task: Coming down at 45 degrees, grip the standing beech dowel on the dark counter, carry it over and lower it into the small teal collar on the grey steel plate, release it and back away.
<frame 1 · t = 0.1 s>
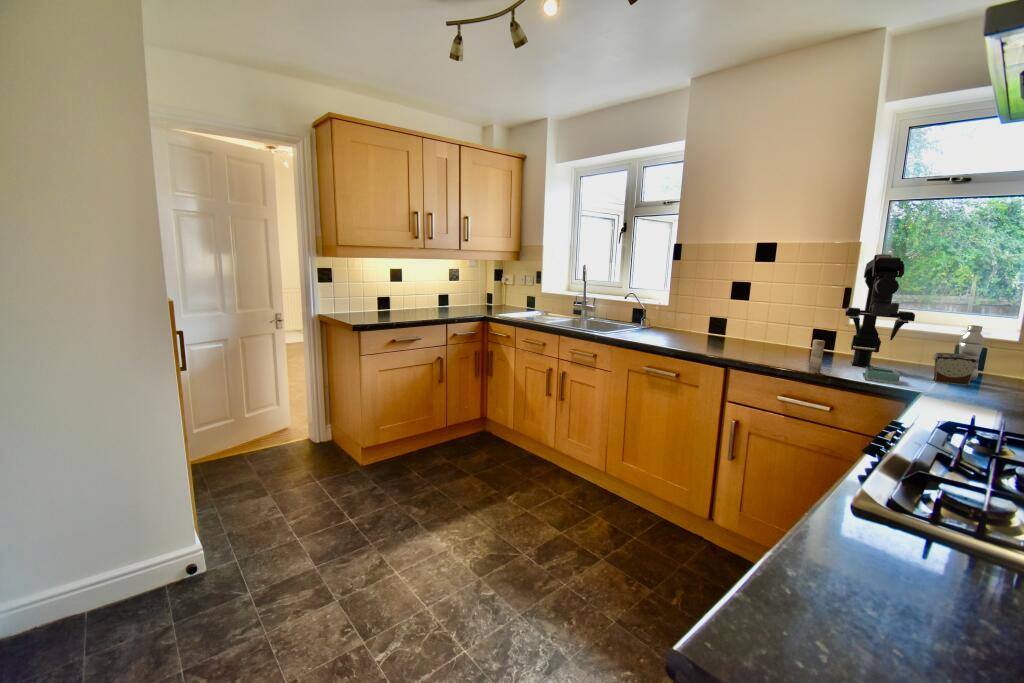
hand: (874, 338, 162), 15 cm above the counter, tool pointing down, fingers open, 9 cm apart
dowel: (814, 372, 171), on the counter
collar plate: (880, 379, 164), on the counter
food container: (946, 382, 165), on the counter
plastic bottle: (963, 380, 168), on the counter
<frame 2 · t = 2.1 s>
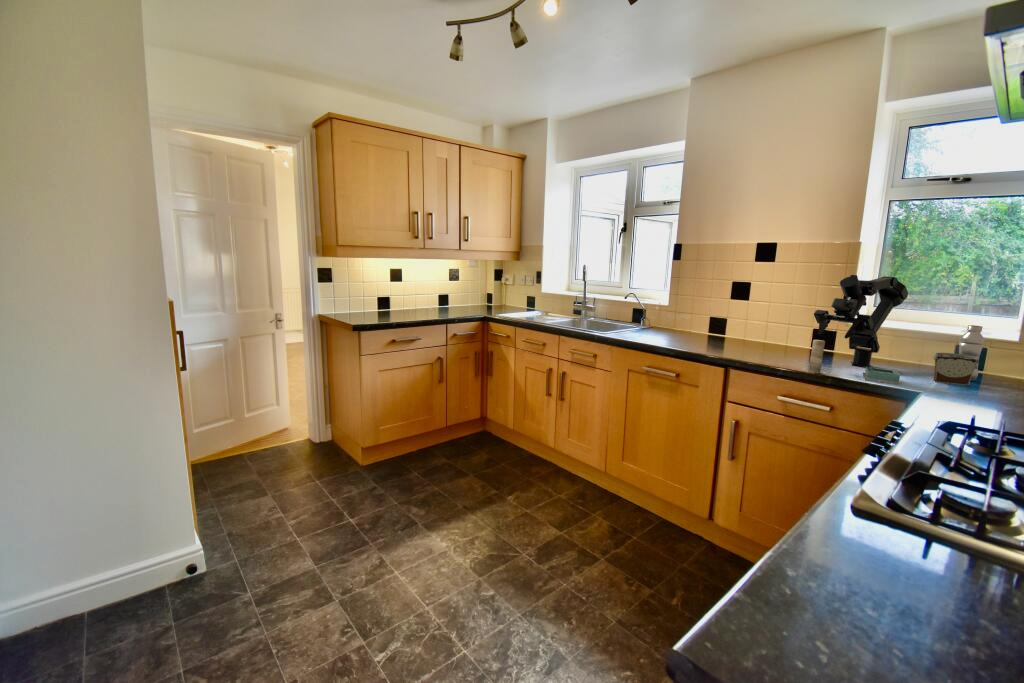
hand: (831, 335, 173), 13 cm above the counter, tool tilted 45°, fingers open, 9 cm apart
nothing on the counter moved.
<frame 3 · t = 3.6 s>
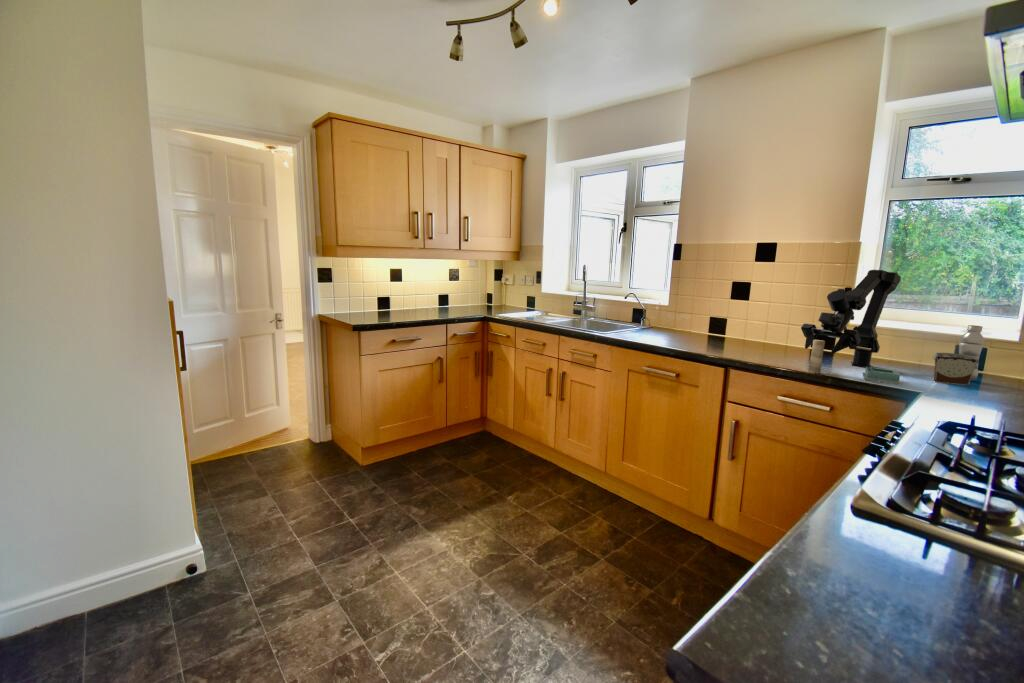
hand: (818, 350, 170), 8 cm above the counter, tool tilted 45°, fingers open, 9 cm apart
nothing on the counter moved.
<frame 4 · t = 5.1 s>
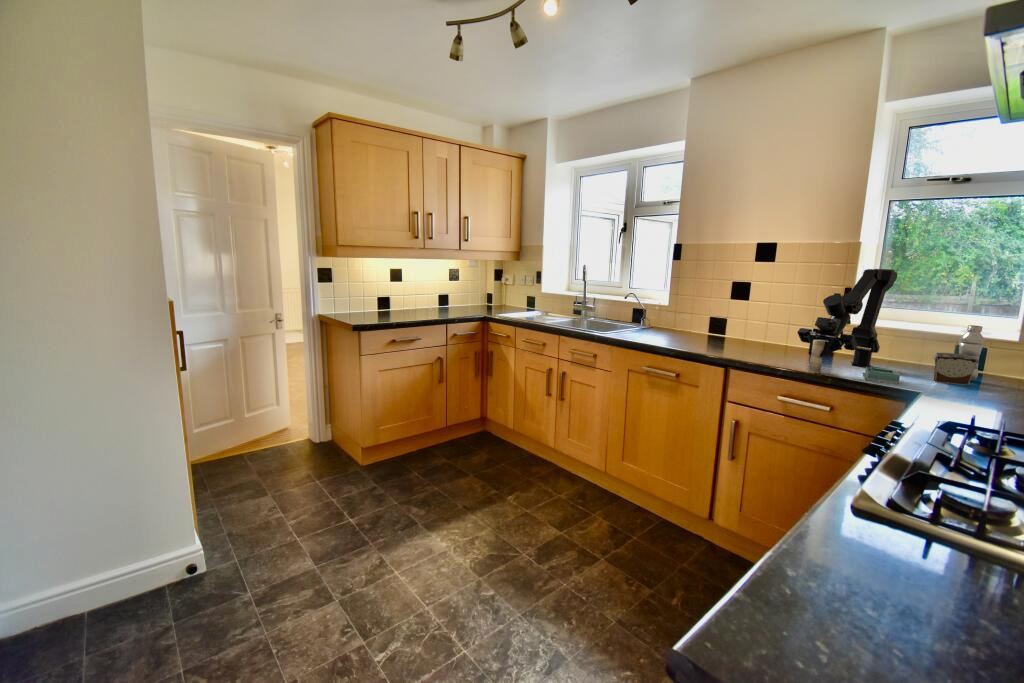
hand: (814, 355, 169), 7 cm above the counter, tool tilted 45°, fingers closed on dowel, 4 cm apart
dowel: (814, 372, 171), on the counter, touching gripper
everything else where it was.
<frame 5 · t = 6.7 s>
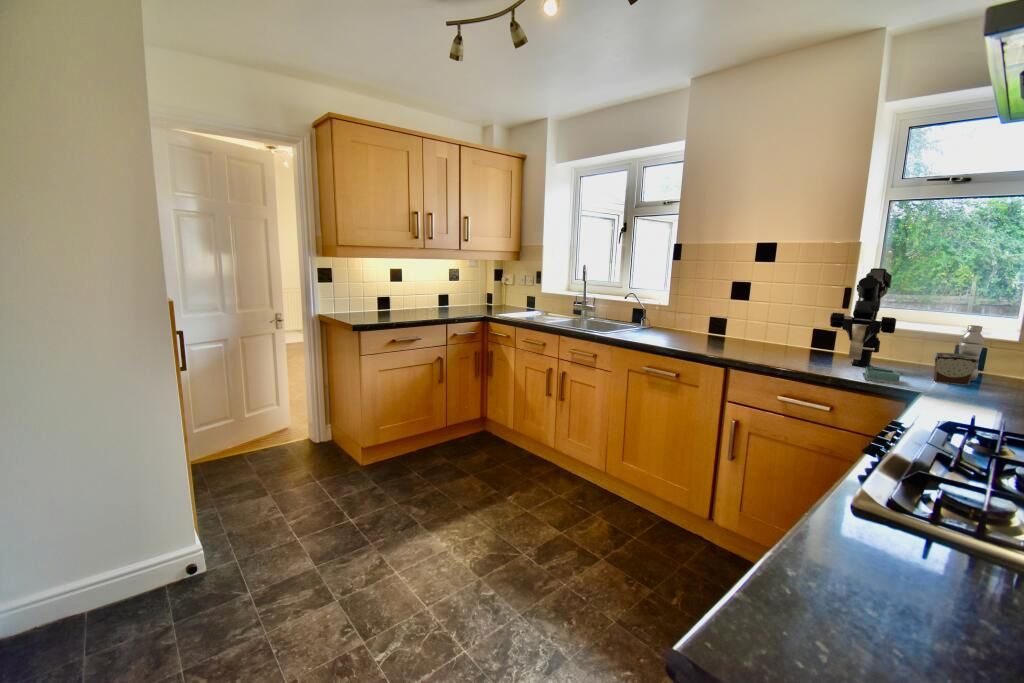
hand: (857, 340, 162), 13 cm above the counter, tool tilted 45°, fingers closed on dowel, 4 cm apart
dowel: (854, 358, 164), point 7 cm above the counter, touching gripper
everything else where it was.
when the fingers open (9 cm above the counter, at t = 8.6 s): dowel drops 2 cm, resting on collar plate.
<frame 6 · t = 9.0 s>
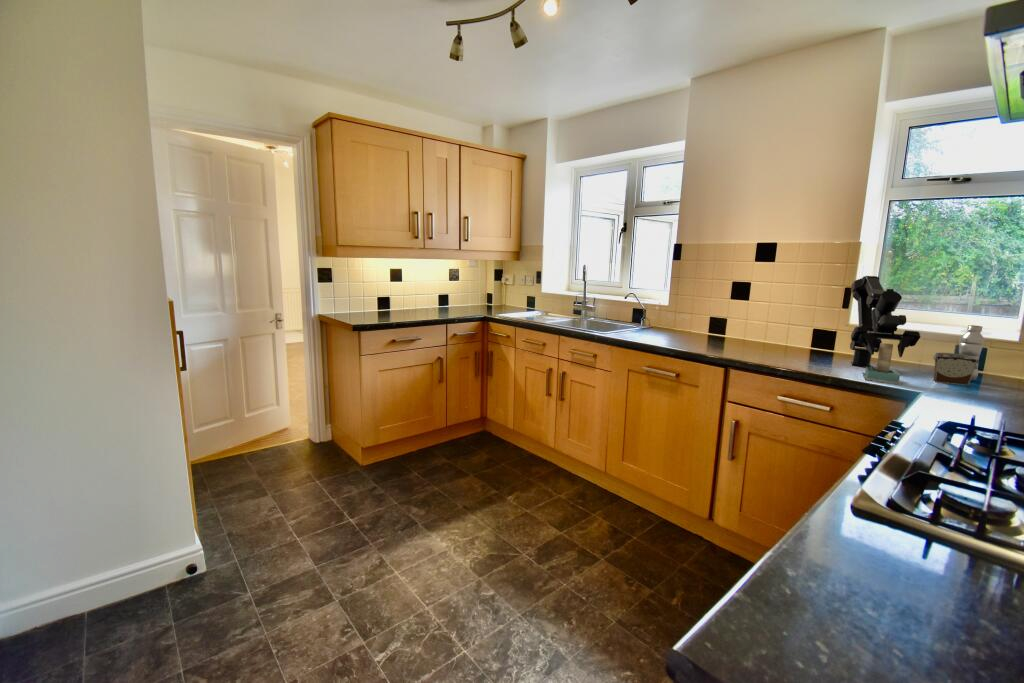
hand: (886, 355, 161), 9 cm above the counter, tool tilted 45°, fingers open, 8 cm apart
dowel: (881, 377, 164), point 1 cm above the counter, touching collar plate
everything else where it was.
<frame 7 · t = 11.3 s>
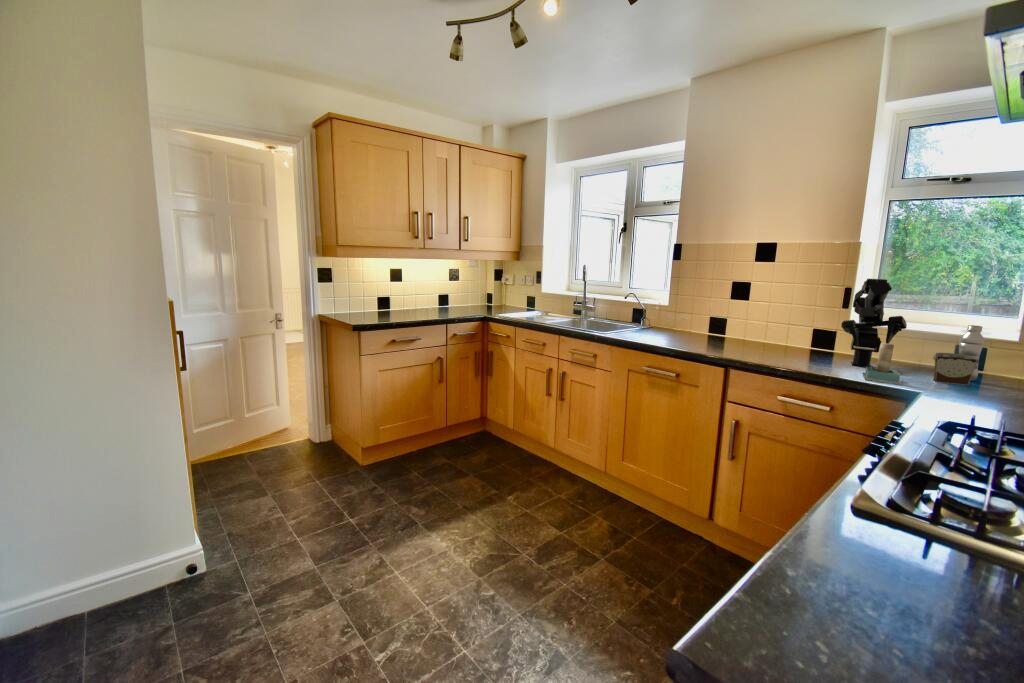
hand: (871, 344, 172), 11 cm above the counter, tool tilted 30°, fingers open, 9 cm apart
nothing on the counter moved.
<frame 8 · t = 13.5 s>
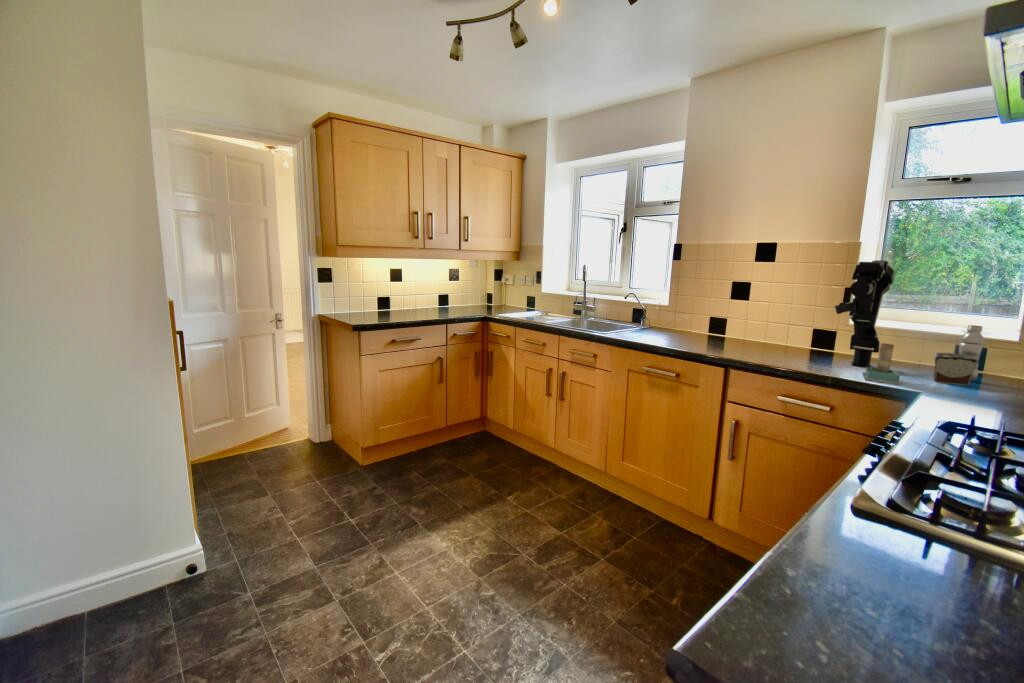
hand: (857, 337, 174), 13 cm above the counter, tool pointing down, fingers open, 9 cm apart
nothing on the counter moved.
at the end: dowel 0.0 cm off-centre on the collar plate, point 0.8 cm above the collar plate's base; dowel tilted 0°; the gripper is holding nothing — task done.
